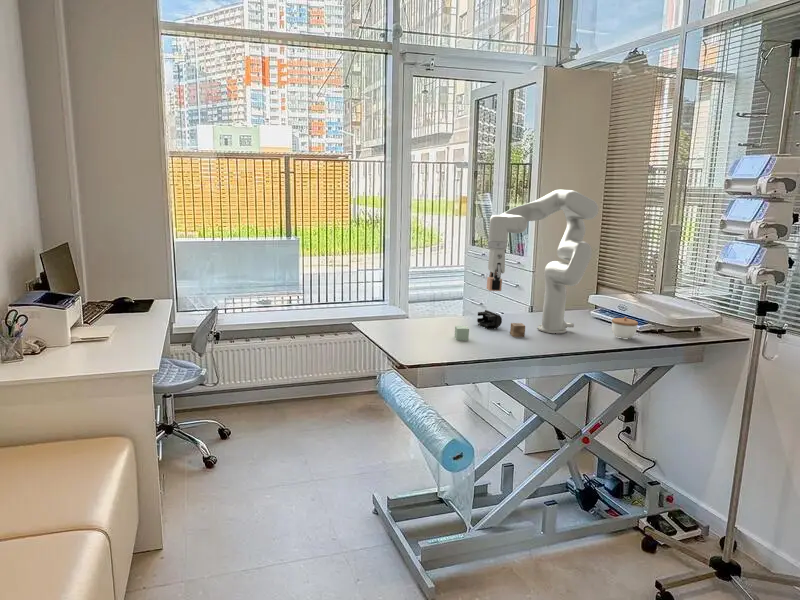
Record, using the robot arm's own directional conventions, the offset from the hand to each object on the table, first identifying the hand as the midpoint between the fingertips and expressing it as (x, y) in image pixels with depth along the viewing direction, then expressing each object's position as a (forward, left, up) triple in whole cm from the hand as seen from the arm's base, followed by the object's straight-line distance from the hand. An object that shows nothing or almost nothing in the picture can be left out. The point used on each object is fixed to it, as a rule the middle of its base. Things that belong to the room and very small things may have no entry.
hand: (494, 288), depth 249 cm
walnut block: (-13, -4, -22) cm, 25 cm away
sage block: (+13, +3, -22) cm, 25 cm away
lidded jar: (-61, -4, -22) cm, 65 cm away
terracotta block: (0, 0, -1) cm, 1 cm away
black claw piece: (-4, -19, -22) cm, 29 cm away
